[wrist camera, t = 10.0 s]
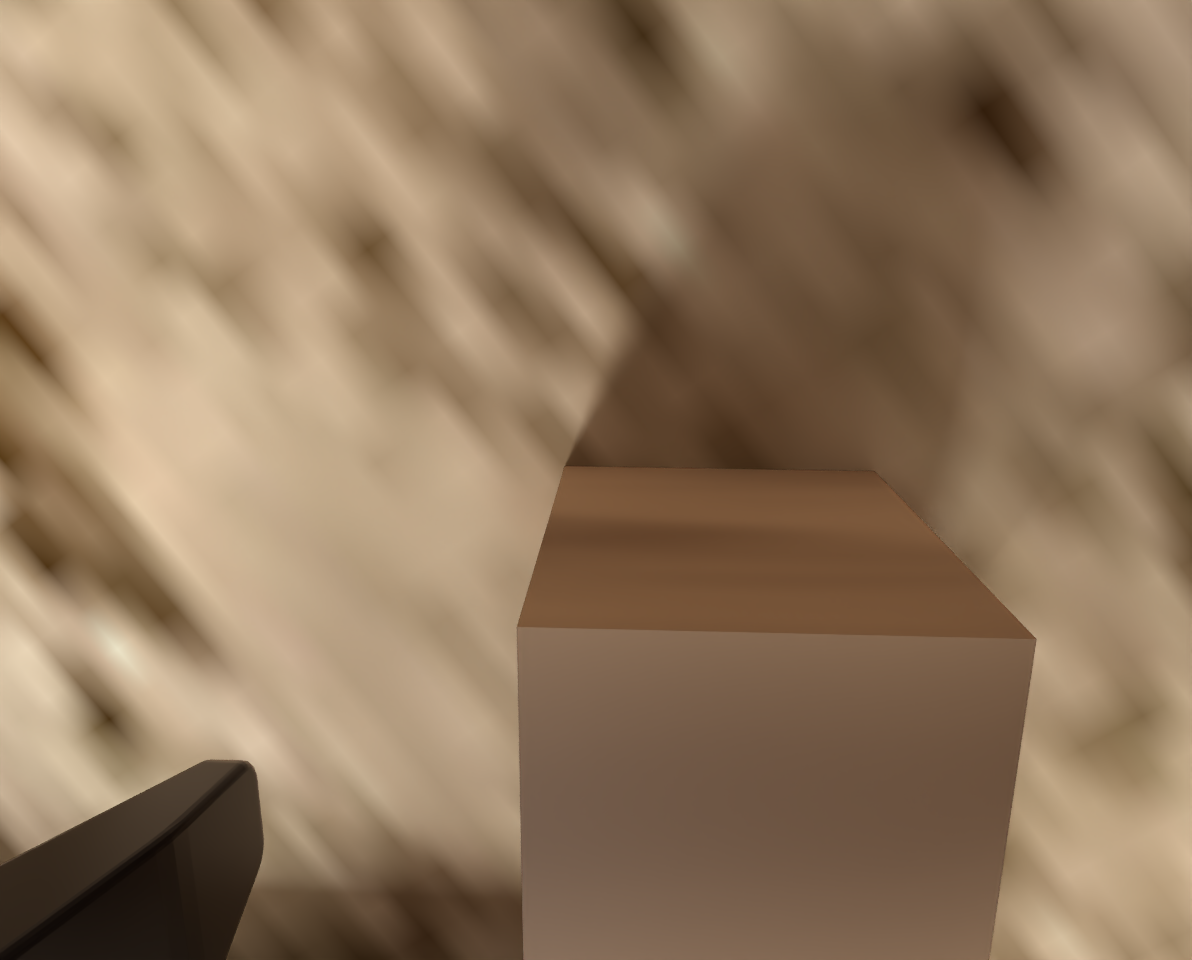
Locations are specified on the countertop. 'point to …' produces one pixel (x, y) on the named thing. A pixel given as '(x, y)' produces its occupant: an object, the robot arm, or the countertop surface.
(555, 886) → the walnut block
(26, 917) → the robot arm
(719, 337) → the countertop surface
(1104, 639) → the countertop surface
